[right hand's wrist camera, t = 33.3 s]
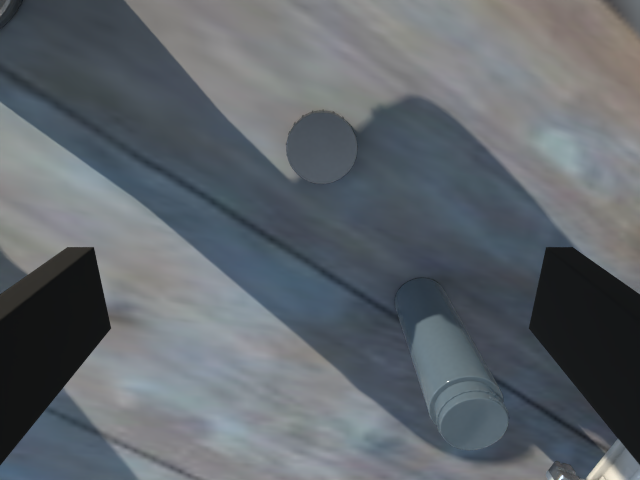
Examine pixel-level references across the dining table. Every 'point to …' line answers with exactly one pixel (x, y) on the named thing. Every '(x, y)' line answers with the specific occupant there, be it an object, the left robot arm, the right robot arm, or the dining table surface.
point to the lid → (321, 147)
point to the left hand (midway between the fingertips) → (585, 433)
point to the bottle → (450, 368)
